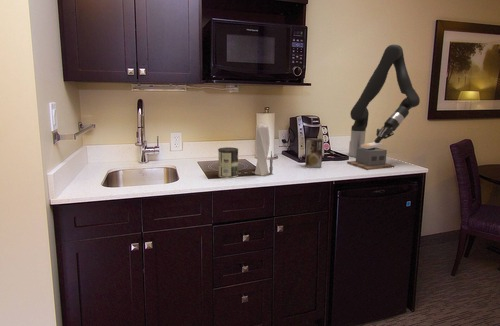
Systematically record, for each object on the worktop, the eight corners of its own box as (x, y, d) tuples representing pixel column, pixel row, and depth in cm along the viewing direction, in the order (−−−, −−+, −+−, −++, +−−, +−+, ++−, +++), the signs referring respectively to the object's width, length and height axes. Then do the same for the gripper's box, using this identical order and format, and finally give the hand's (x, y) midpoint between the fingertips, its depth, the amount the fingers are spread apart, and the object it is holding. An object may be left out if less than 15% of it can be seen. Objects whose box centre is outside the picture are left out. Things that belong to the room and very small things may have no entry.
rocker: (361, 147, 217) (361, 144, 217) (375, 144, 221) (375, 141, 220) (367, 149, 212) (367, 146, 211) (382, 145, 215) (382, 142, 215)
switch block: (355, 162, 222) (356, 145, 219) (371, 160, 226) (373, 145, 224) (369, 166, 210) (370, 149, 208) (385, 164, 215) (387, 148, 213)
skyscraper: (262, 177, 188) (264, 123, 182) (251, 174, 193) (252, 121, 188) (273, 174, 194) (274, 121, 188) (261, 172, 199) (262, 120, 194)
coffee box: (320, 165, 217) (321, 138, 213) (321, 167, 211) (323, 140, 207) (304, 164, 218) (306, 138, 214) (305, 167, 211) (306, 139, 208)
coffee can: (235, 172, 196) (235, 146, 193) (240, 177, 186) (240, 150, 183) (216, 173, 193) (216, 147, 190) (220, 178, 184) (220, 151, 181)
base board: (347, 163, 223) (347, 161, 223) (373, 161, 230) (373, 159, 230) (366, 169, 207) (366, 167, 206) (394, 167, 214) (394, 165, 214)
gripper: (383, 116, 223) (365, 136, 221) (399, 117, 211) (380, 139, 209) (389, 124, 226) (371, 145, 224) (405, 126, 214) (387, 148, 212)
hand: (376, 142), depth 217 cm, fingers closed
